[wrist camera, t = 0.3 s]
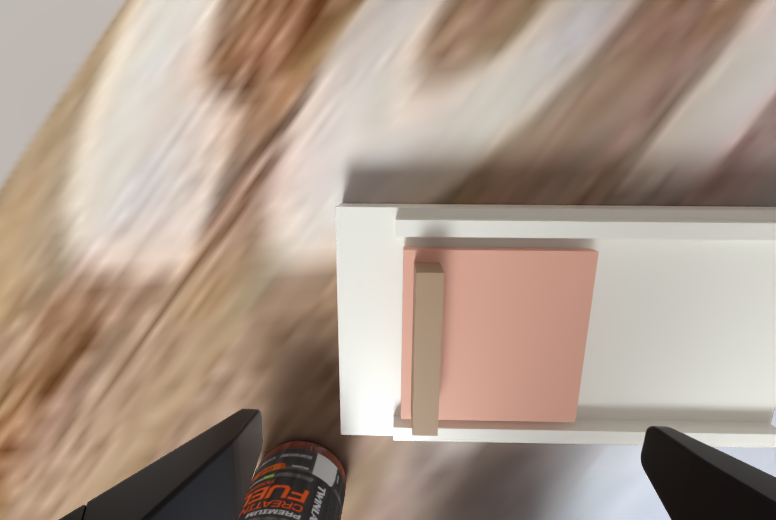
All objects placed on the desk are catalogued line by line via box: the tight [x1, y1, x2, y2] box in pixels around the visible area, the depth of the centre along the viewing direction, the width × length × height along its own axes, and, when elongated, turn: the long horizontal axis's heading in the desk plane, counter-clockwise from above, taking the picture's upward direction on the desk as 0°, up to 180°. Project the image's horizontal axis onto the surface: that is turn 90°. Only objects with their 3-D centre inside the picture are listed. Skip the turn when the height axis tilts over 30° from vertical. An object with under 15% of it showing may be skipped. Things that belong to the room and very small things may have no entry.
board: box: [335, 203, 776, 448], centre depth 20 cm, size 13×24×3 cm, turn 89°
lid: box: [401, 246, 599, 436], centre depth 18 cm, size 9×9×3 cm
